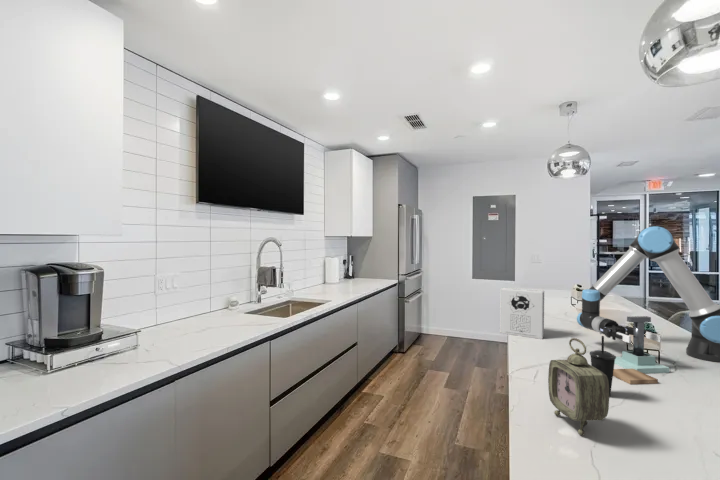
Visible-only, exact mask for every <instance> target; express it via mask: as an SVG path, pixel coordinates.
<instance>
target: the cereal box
mask: <svg viewBox="0 0 720 480" xmlns="http://www.w3.org/2000/svg"><path fill="white" fill-rule="evenodd" d="M499 302H500V303H499V334H503V335H509V336H510V335H511V336H519V337H524V338H533V339H538V340H543V339H544V336H545V290H543V289H542V290H541V289H528V288H514V287H502V288H500V289H499Z"/></svg>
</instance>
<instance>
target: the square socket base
mask: <svg viewBox="0 0 720 480" xmlns="http://www.w3.org/2000/svg"><path fill="white" fill-rule="evenodd" d="M630 353H633V350H622V352H621V356H616V359H615V363H614V365H617V366H619V367H621V368H622V369H635V370H637V371H640V372H642V373H644V374H663V373H664V374H665V373H666V374H667V373H668V374H669V373H670V367H669V366H666V365H664V364H661V363H658V362H656V356H655V355H652V354H650V353H646V352H644V355H646V356H636V355H633V354H630Z"/></svg>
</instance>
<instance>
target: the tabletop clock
mask: <svg viewBox="0 0 720 480" xmlns="http://www.w3.org/2000/svg"><path fill="white" fill-rule="evenodd" d="M573 341H575V342H578V343H579V344H581V345H582V347H583V349H584V351H583V352H581V351H580V348H577V347H575V348H574V347H573V346H572V342H573ZM568 344H569V348H570V349H571V351H572V352H573V353H572V354H570V355H569V356H568V357H567V358H566V359H551V360H550V361H549V365H548V366H549V367H548V377H547V378H548V381H547V382H548V397H549V400H550V402H551V404H552V405H553V406H554V408H556V410H554V411H553V413H554V415H555V417H560V416H561V414H562V415H564V416H566V417H567V418H568V419H570V420H571V421H574V422H580V428H579V429H578V430H577V433H578V435H579V436H582V437H583V436H585V434H586V433H585V430H584V426H587V425H588V422H589V421H603V420H605V419H606V417H607V416H608V414H609V408H610V407H609V406H610V396H609V383H608V378H607V376H606V375H605V374H604V373H603V372H602V371H600V370H598V369H596V368H595V367H593V366H591V364H589V363H588V360H587V358H586V357H585V356H584V355H585V354H587V353H586V352H587V346H586V345H585V343H584V342H583V341H582V340H581V339H579V338H575V337H573V338H572V337H571V338H570V339H569V342H568Z"/></svg>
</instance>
